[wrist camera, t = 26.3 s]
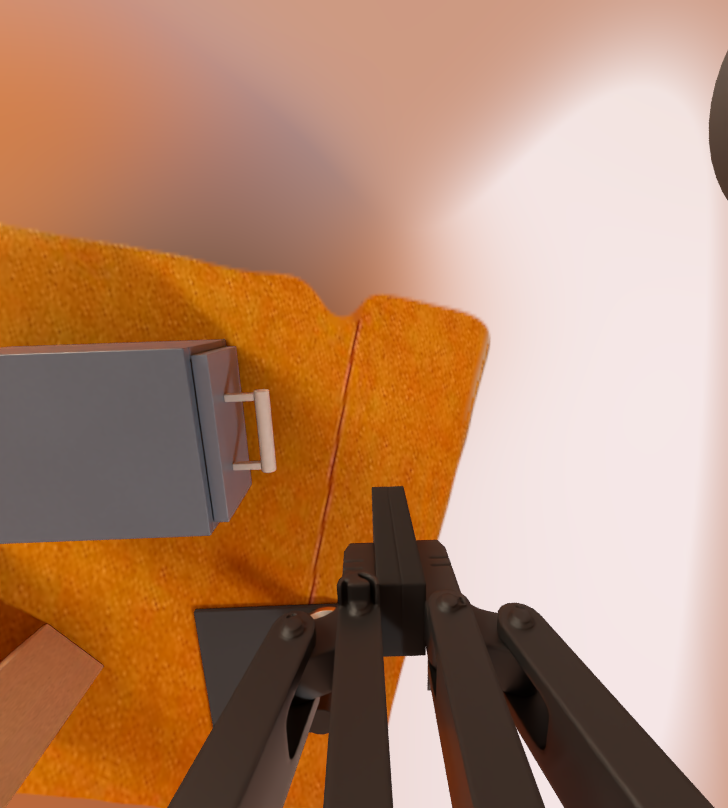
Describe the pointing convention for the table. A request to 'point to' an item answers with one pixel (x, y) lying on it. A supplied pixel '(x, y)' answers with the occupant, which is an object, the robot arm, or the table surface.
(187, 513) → the cabinet
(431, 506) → the table surface
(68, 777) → the table surface
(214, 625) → the mat
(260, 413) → the drawer
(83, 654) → the sandwich container
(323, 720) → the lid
